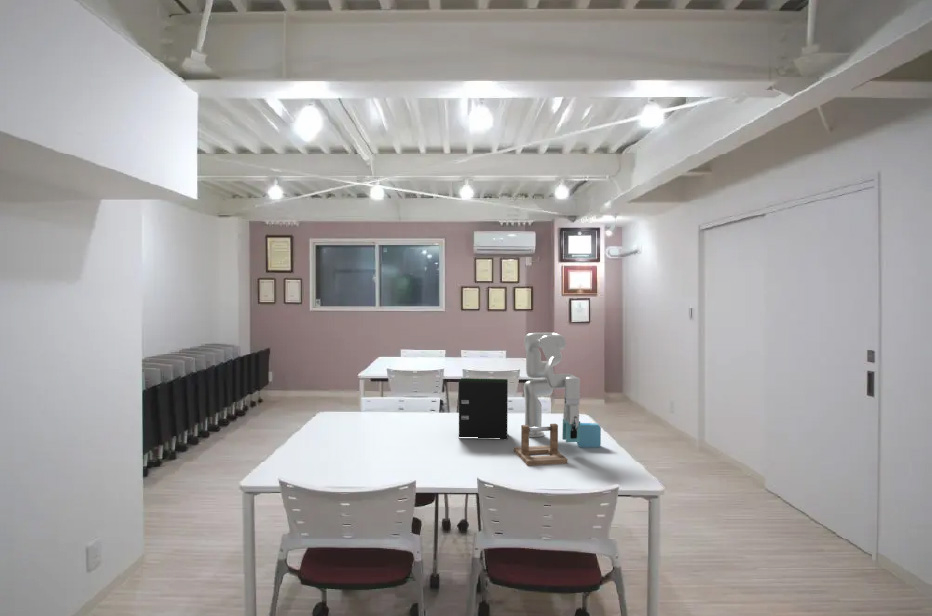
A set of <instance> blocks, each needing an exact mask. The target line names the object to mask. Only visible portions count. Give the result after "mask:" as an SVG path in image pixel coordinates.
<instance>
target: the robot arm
mask: <svg viewBox="0 0 932 616" xmlns="http://www.w3.org/2000/svg"><path fill="white" fill-rule="evenodd" d="M523 339H524V341H523V344H524V345H523V346H524V350H525V354H526V358H525V364H526V365H525V366H526V367H525V371H526V375H527V377H528V378H530V379H531V380H527V381H525V382H524V384H523V395H524V425H528V426H529V427H542V416H543V415H542V414H543V412H542V411H543V410H542V402H541V401H540V399H539V398H538V397H549V396H552V394H553V392H554V390H558V389H564V400H563V402H564V403H563V405H564V406H563V415H562V417H563V418H562V420H563V419H565V420H566V421H567V422H568V424H569V425H571V437H570V438H571V439H574V438H577V428H578V424H579V421H580V411H579V410H580V409H579V406H580V402H581V401H580V399H581V397H580V396H581V395H580V393H581V391H580V390H581V379H580V377H578V376H575V375H574V374H571V373H554V371H555V370H554V367H555V366H556V365H559V363H562V360H563V354H562V352H561V350H565V348H566V347H567V341H566V338H565V337H564V335H562V334H559V333H556V332H531V333H527V334H526V335H525V337H524V338H523ZM539 348H540V349H542V352H543V354H544V357H545V360H542V353H541V351H540V349H539ZM539 378H540V379H539ZM541 378H542V379H541ZM532 379H533V380H532ZM573 423H575V424H573ZM573 426H574V427H573ZM544 436H545V431H531V432H529V438H541V437H544Z"/></svg>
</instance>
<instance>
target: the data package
mask: <svg viewBox="0 0 932 616" xmlns="http://www.w3.org/2000/svg"><path fill="white" fill-rule="evenodd" d="M601 433H602V427H601V425H599V423H596V422H593V423H592V422H591V423H590V422H580V442H576V444H577V447H579V448H600V447H601V444H602V442H601V439H602V437H601V435H602V434H601Z"/></svg>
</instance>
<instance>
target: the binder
mask: <svg viewBox="0 0 932 616" xmlns="http://www.w3.org/2000/svg"><path fill="white" fill-rule="evenodd" d="M508 383H509V381H508V378H470V377H469V378H467V377H466V378H462V377H461V378H460V380H459V381H458V438H459V437H478V438H500V439H499V440H504V439H507V440H508V403H509V402H508V397H509V395H508V392H509V391H508V390H509V389H508V388H509V387H508Z"/></svg>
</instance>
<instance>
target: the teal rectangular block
mask: <svg viewBox="0 0 932 616" xmlns="http://www.w3.org/2000/svg"><path fill="white" fill-rule="evenodd" d="M580 423H581V421H580V420H579V424H578V428H577V438H574V439H571V438H570V437H571V425H569V424H568V422H567V421H566V420H565V419H563V418H562V437H561V438H562V440H564V441H565V443H577V442H580ZM573 424H575V423H573ZM573 427H574V426H573Z"/></svg>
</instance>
